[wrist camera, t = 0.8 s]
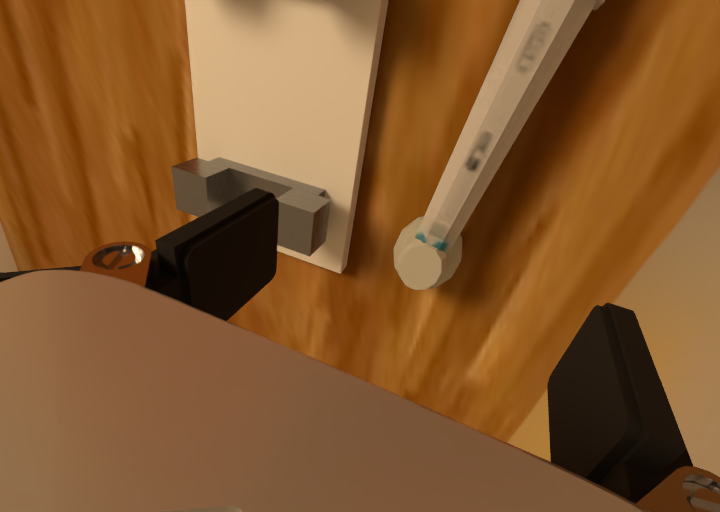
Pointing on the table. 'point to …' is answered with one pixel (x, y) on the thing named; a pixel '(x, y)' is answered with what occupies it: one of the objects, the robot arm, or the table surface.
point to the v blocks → (231, 179)
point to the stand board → (289, 95)
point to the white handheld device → (489, 134)
